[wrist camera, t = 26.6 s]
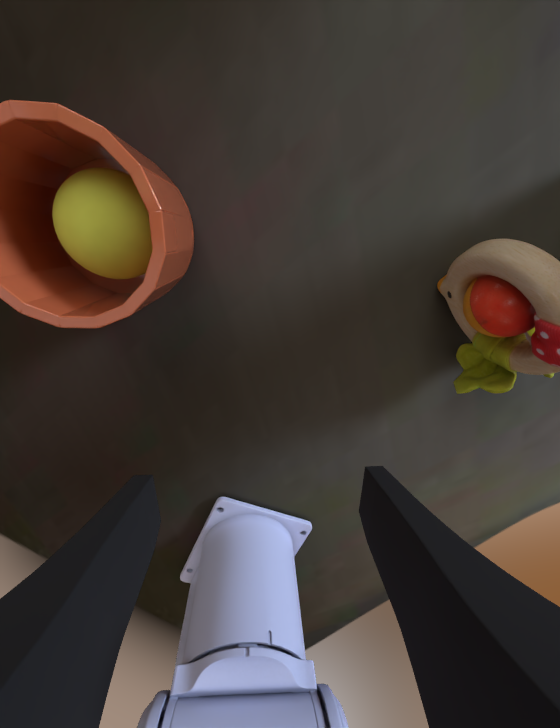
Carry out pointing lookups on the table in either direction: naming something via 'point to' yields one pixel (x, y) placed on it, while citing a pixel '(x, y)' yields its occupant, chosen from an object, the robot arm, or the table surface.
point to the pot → (36, 229)
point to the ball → (103, 223)
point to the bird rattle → (504, 313)
